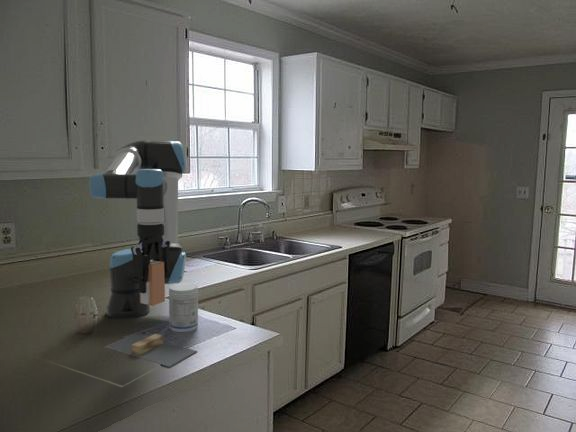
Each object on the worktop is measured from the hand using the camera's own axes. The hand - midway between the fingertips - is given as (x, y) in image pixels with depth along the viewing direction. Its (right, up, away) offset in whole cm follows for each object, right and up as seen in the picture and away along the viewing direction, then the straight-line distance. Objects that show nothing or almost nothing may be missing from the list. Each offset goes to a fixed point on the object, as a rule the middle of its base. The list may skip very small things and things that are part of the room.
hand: (152, 300), depth 142 cm
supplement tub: (+5, -13, +21) cm, 25 cm away
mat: (-2, -16, +3) cm, 16 cm away
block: (0, -1, 0) cm, 1 cm away
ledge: (-2, -16, +3) cm, 16 cm away
